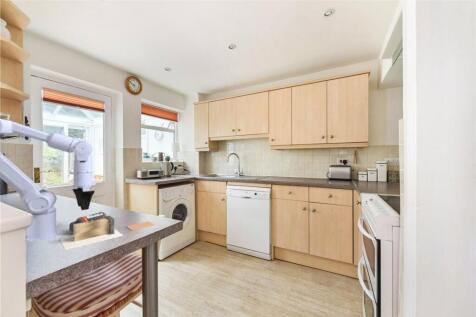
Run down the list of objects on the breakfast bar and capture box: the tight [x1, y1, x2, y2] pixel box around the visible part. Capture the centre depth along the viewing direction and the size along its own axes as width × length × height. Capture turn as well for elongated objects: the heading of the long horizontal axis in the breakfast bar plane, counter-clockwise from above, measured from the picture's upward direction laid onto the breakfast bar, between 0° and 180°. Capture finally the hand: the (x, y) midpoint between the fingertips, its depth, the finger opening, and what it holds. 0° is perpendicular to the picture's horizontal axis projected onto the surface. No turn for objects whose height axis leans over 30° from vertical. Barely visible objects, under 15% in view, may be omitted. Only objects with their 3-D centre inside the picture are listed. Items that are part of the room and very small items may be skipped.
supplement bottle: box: [68, 211, 107, 234], centre depth 79 cm, size 6×6×11 cm
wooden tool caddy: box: [72, 215, 115, 242], centre depth 73 cm, size 11×6×6 cm, turn 136°
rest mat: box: [59, 227, 124, 251], centre depth 71 cm, size 16×12×1 cm
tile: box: [125, 221, 156, 232], centre depth 83 cm, size 1×6×9 cm
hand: (83, 207), depth 79 cm, fingers open, 7 cm apart
